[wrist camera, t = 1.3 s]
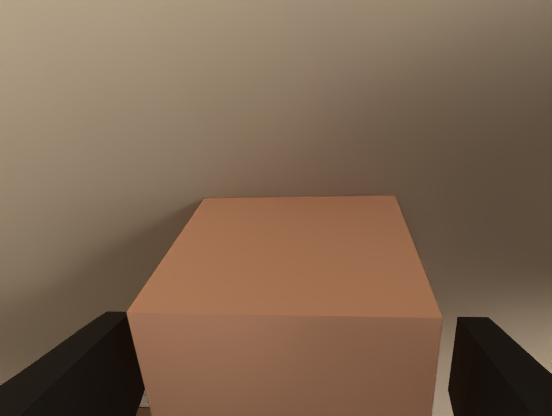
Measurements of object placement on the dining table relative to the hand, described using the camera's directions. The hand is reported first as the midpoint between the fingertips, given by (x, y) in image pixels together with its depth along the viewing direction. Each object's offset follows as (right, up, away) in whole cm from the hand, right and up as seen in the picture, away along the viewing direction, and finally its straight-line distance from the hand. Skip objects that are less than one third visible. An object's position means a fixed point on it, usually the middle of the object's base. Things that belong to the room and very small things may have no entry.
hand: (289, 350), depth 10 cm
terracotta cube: (0, +1, +3) cm, 3 cm away
